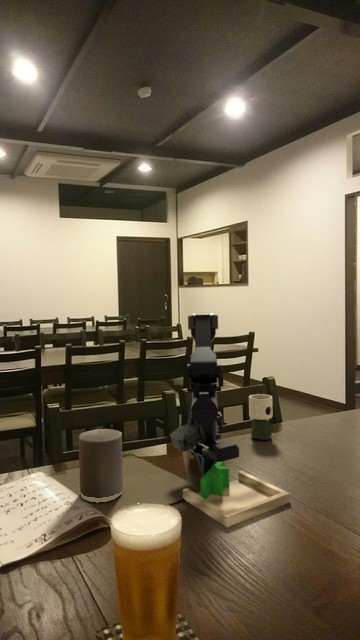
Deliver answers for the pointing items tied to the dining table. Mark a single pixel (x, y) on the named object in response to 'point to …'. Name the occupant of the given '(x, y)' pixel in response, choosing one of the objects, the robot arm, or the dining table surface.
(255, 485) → the corral
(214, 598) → the dining table surface
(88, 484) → the pillar candle
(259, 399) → the character mug
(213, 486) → the pipe clamp
